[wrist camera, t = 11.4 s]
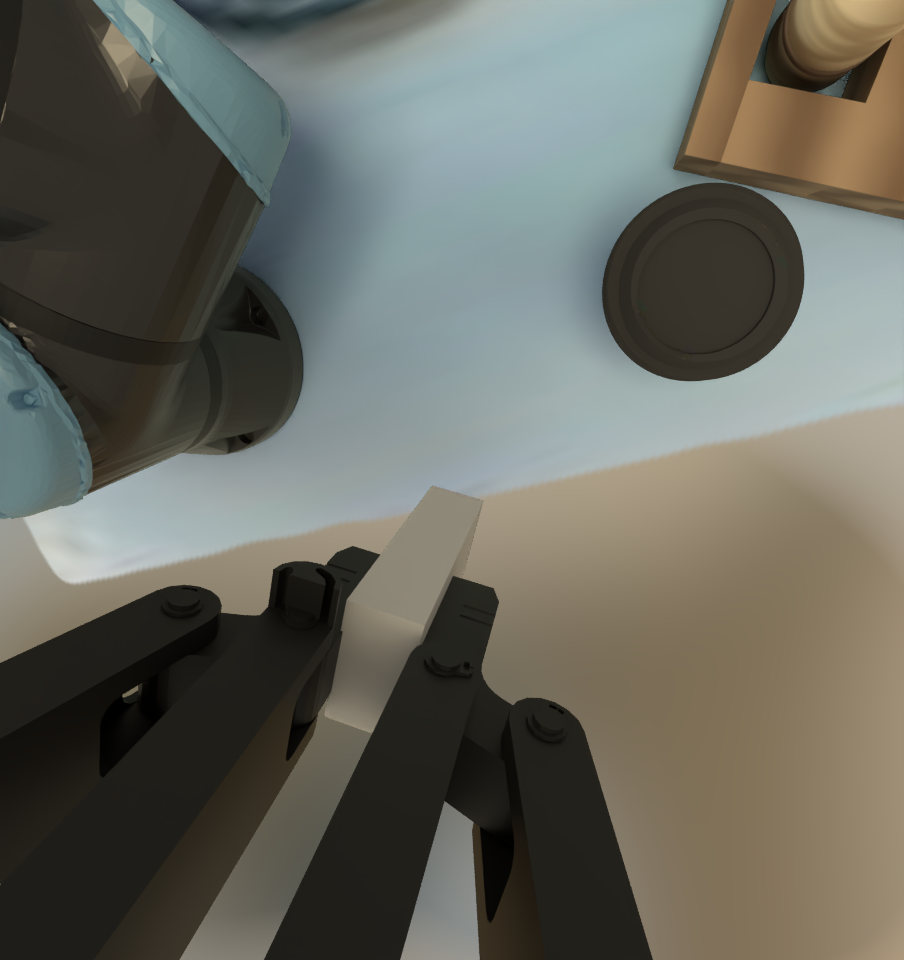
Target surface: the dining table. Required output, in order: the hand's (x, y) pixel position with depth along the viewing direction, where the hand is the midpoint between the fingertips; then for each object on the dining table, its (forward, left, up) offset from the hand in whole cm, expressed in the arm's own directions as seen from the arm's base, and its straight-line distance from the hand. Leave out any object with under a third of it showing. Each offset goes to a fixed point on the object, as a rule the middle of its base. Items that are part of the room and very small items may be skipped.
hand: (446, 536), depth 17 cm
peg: (+10, +22, -29) cm, 38 cm away
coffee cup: (+7, +8, -30) cm, 32 cm away
